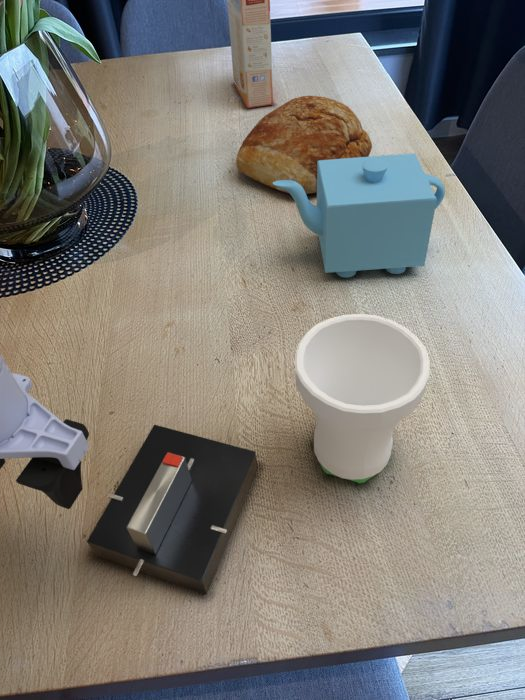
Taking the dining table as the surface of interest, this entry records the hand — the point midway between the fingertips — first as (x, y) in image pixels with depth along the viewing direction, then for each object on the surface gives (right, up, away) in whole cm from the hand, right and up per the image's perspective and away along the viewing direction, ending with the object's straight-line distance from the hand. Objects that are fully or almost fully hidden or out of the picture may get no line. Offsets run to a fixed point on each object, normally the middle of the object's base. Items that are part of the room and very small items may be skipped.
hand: (32, 484), depth 45 cm
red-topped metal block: (+10, -4, +4) cm, 12 cm away
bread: (+25, +42, +51) cm, 70 cm away
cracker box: (+17, +65, +73) cm, 100 cm away
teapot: (+32, +24, +34) cm, 52 cm away
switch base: (+11, -4, +8) cm, 14 cm away
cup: (+28, 0, +11) cm, 30 cm away
